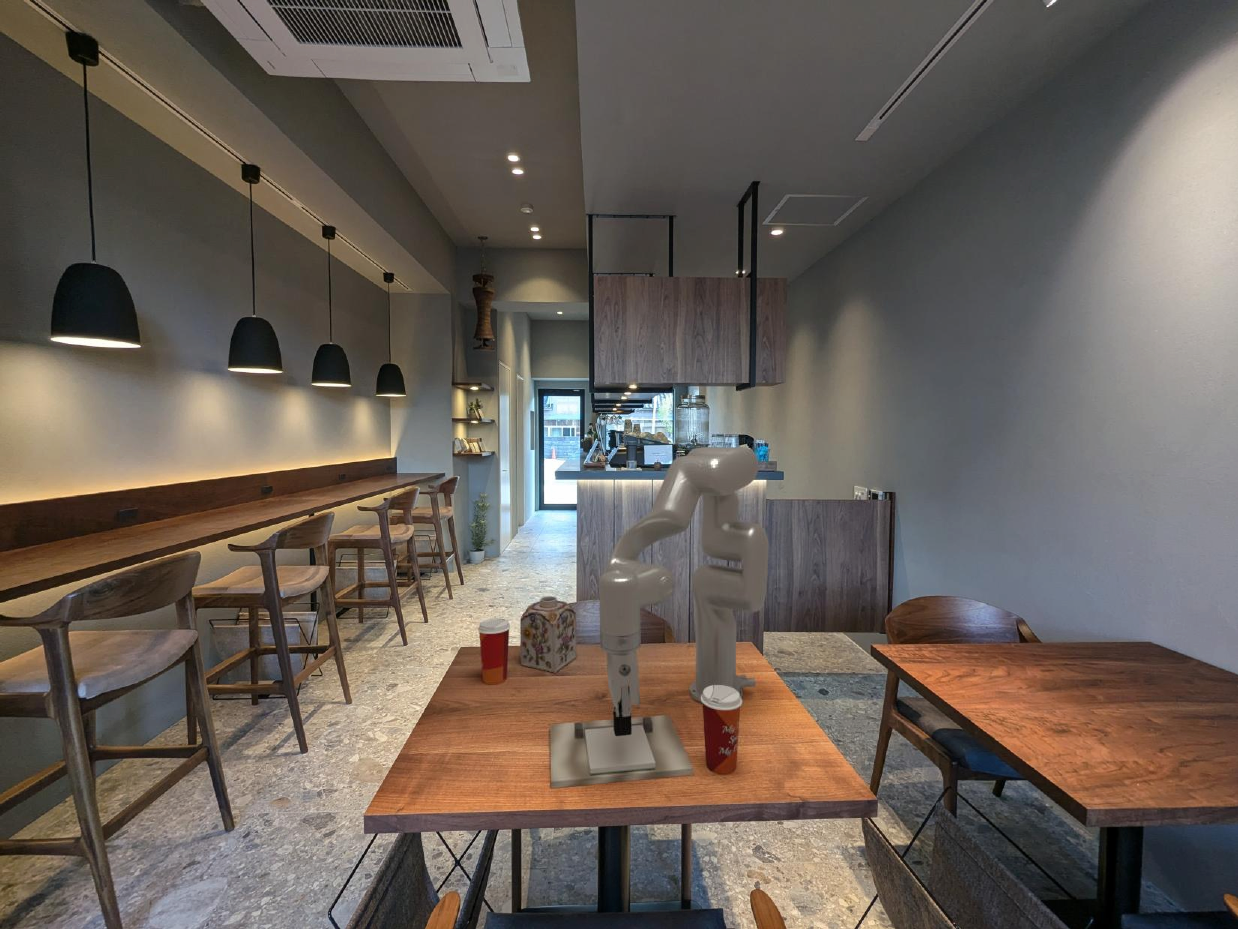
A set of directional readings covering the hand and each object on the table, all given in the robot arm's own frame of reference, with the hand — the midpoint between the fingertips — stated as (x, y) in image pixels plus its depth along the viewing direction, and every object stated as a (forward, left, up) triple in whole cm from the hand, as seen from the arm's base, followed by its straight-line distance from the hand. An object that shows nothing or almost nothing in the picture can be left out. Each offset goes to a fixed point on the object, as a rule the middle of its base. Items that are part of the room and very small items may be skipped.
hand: (622, 733), depth 98 cm
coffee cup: (+28, -41, -7) cm, 49 cm away
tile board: (+1, -5, -6) cm, 8 cm away
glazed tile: (+1, -10, -4) cm, 10 cm away
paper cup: (-18, +2, -7) cm, 20 cm away
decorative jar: (+14, -50, -7) cm, 52 cm away
